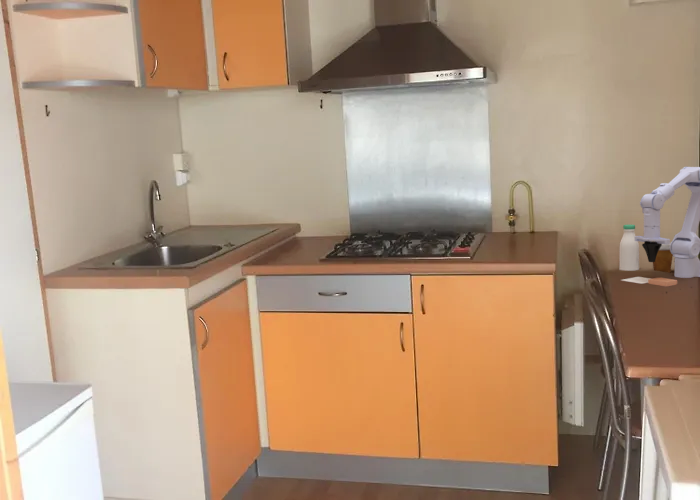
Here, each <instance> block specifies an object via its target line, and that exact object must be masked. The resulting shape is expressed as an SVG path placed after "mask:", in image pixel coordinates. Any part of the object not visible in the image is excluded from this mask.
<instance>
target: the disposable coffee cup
mask: <svg viewBox="0 0 700 500" xmlns="http://www.w3.org/2000/svg"><path fill="white" fill-rule="evenodd" d="M670 244H671V242H670ZM670 244H667V245H665V244H662V246H661V247H660V249H659V251H658V253H657V256H656V260H655V262H652V267H653V271H656V272H662V273H667V274H668V273H669V274H671V271H672V264H673V263H672V261H673V254H672V253H671V252H670Z"/></svg>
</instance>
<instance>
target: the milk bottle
mask: <svg viewBox="0 0 700 500" xmlns="http://www.w3.org/2000/svg"><path fill="white" fill-rule="evenodd" d="M622 228H623V235H622V237H621V240H620V242H619V252H618V253H619V256H618V257H619V259H618V260H619V263H618V264H619V269H618V270H619V271H626V272H628V271H629V272H630V271H631V272H633V271H638V270H640V243H639V241H635V236H637V234H636V232H635V231H636V225H635V224H623V227H622Z"/></svg>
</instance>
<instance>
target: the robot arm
mask: <svg viewBox="0 0 700 500" xmlns="http://www.w3.org/2000/svg"><path fill="white" fill-rule="evenodd" d="M683 185H685V187H686V188H687V189H688V190H690V192H691V194H690V195H691V196H690V199H689V202H688V205H687V209H686V213H685V216H684V220H683V223H682V227H681V230H680V231H679V232H678V233H676V234H675V235H674V237H673V238H672V241H671V238H665V237H661V209H663V207H664V205H665V203H666V201H668V200H669V199H671V198H672V197H673V196H674V195H675V191H677V189H679V188H680V187H682V186H683ZM639 205H640V207H641V209H642V214H643V235H636V236H635V241H638V242H642V244H641V246H642V248H643V250H644V252H645V254H646V257H647V260H648V263H653V262H655V260H656V256H657V253H658V251H659V249H660V247H661V246H662V244H665V245H667V244H670V243H671V244H670V252H671V253H672V254H673V257H674V274H673V275H674V277H675V278H682V279H685V278H686V279H690V278H691V279H692V278H694V277H695V278H697V277H698V278H700V258H699V257H698V255H699V254H700V237H699V236H698V235H697V233H698V232H697V231H698V228H699V225H700V166H684V167H682V168H680V170H679V172H678V174H677V175H676V176H675V177H674V178H672V179H671V180H670V181H669V182H668V183H667V182H663V183H662V182H661V183H660V184H659V186H658V187H657V188H656V189H653V190H652V191H651V192H650V193H646V194H644V195H643V196H642V197H641V199H640V201H639ZM673 257H672V258H673Z"/></svg>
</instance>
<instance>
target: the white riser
mask: <svg viewBox="0 0 700 500" xmlns="http://www.w3.org/2000/svg"><path fill="white" fill-rule="evenodd" d="M648 279H651V278H650V277H642V276H635V277H628V278H625V279H624V278H623V279H621V281H622V282H629V283H636V284H648Z"/></svg>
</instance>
